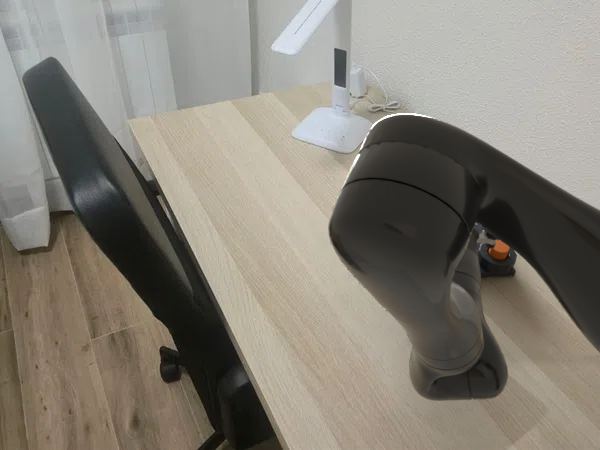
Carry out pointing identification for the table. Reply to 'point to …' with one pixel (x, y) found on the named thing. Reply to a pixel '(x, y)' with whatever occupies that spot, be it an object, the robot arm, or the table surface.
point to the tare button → (499, 251)
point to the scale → (494, 261)
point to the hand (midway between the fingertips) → (445, 193)
